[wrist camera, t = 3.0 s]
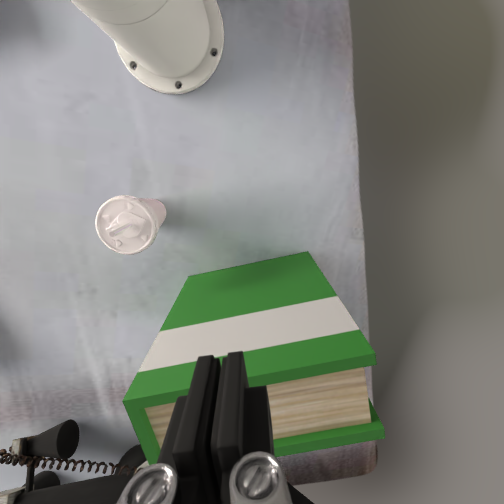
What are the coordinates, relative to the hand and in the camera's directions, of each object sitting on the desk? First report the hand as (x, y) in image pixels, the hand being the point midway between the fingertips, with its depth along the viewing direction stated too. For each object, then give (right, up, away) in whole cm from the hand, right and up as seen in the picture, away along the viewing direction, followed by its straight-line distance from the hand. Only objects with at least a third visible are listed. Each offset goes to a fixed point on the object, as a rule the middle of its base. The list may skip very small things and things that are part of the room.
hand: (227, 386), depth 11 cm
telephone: (-25, -29, +42) cm, 57 cm away
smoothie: (-13, +10, +30) cm, 34 cm away
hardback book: (+1, 0, +34) cm, 34 cm away
